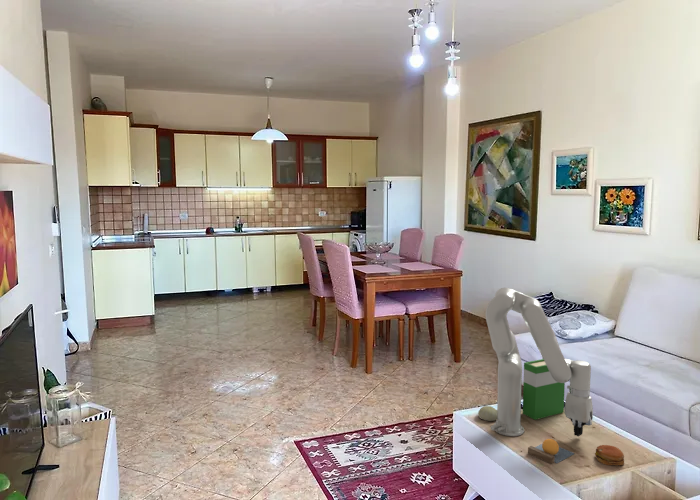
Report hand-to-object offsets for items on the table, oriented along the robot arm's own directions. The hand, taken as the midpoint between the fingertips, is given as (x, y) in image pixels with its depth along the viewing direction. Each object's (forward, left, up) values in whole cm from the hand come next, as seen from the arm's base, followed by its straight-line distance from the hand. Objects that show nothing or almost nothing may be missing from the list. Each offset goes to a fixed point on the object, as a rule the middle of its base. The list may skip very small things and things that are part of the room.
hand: (578, 434), depth 210 cm
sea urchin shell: (-13, +35, -2) cm, 37 cm away
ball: (-21, -1, +2) cm, 21 cm away
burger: (-7, -16, -2) cm, 18 cm away
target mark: (-19, 0, -2) cm, 19 cm away
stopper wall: (-26, 0, -2) cm, 26 cm away
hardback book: (+11, +23, -2) cm, 26 cm away
